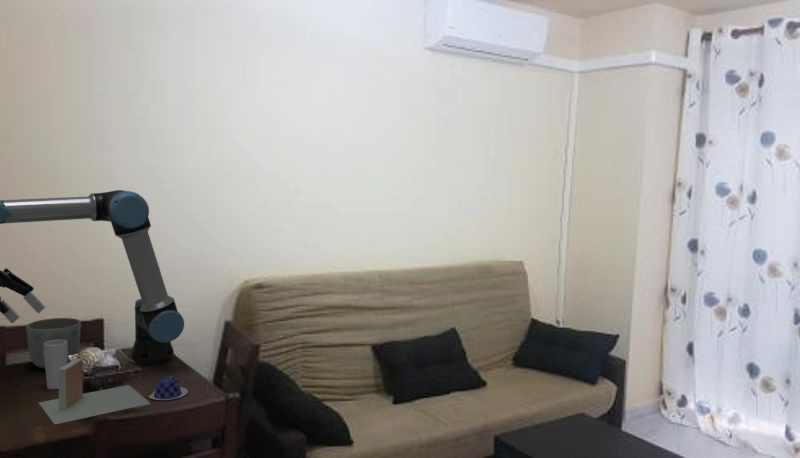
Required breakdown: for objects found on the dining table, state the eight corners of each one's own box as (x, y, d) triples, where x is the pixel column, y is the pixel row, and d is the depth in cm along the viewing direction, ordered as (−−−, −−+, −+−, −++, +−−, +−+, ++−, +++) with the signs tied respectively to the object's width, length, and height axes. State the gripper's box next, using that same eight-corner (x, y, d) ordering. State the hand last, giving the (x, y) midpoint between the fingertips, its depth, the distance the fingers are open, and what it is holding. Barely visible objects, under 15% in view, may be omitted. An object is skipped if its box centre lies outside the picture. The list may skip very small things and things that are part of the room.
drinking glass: (39, 389, 200) (38, 343, 198) (59, 383, 206) (58, 338, 204) (53, 393, 197) (52, 346, 195) (73, 386, 203) (72, 341, 201)
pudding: (173, 404, 192) (173, 387, 191) (139, 399, 194) (139, 383, 194) (195, 391, 203) (195, 375, 203) (162, 387, 206) (162, 371, 205)
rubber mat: (128, 386, 204) (128, 384, 204) (150, 405, 189) (150, 403, 189) (38, 404, 187) (38, 402, 187) (54, 426, 172) (54, 424, 172)
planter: (69, 355, 235) (68, 315, 234) (90, 365, 224) (89, 323, 223) (19, 365, 222) (18, 323, 220) (39, 376, 211) (37, 332, 210)
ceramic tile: (59, 409, 183) (58, 369, 181) (76, 396, 193) (75, 358, 191) (66, 409, 183) (65, 369, 182) (83, 397, 193) (82, 359, 191)
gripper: (-5, 264, 196) (43, 314, 198) (-61, 276, 172) (-6, 333, 173) (12, 248, 196) (60, 298, 198) (-41, 258, 171) (13, 315, 173)
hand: (29, 315), depth 185 cm, fingers open, 13 cm apart
